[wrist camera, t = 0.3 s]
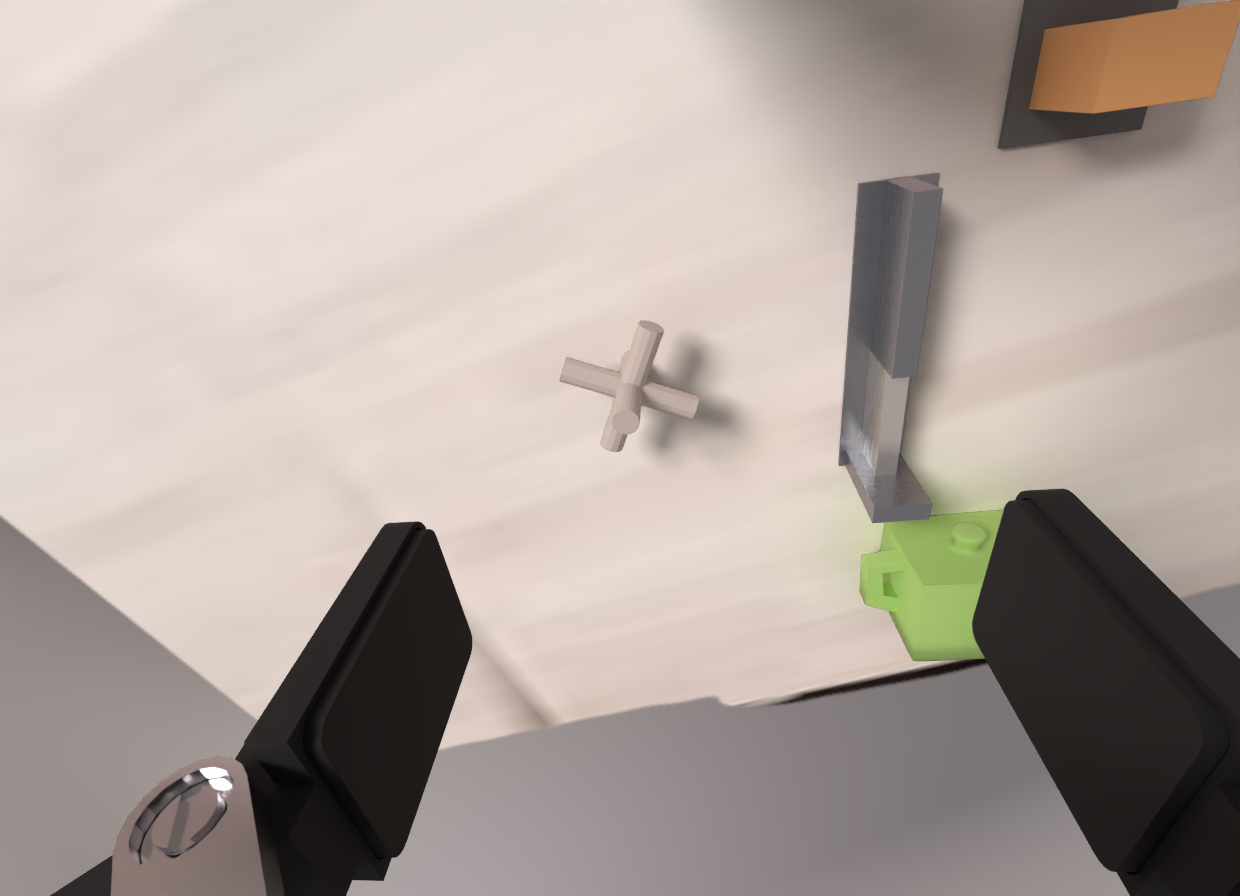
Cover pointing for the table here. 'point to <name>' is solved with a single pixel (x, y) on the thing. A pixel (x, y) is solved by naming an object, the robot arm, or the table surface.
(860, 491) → the rail
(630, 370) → the pipe connector
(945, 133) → the table surface
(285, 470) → the table surface
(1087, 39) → the clip
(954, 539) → the green square teapot
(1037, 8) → the pad
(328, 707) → the robot arm
